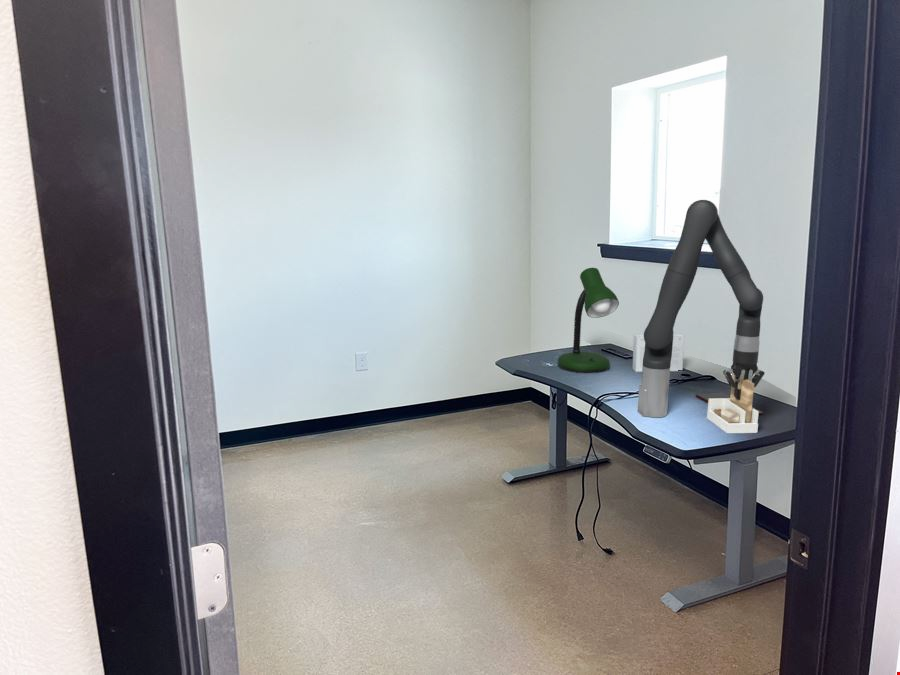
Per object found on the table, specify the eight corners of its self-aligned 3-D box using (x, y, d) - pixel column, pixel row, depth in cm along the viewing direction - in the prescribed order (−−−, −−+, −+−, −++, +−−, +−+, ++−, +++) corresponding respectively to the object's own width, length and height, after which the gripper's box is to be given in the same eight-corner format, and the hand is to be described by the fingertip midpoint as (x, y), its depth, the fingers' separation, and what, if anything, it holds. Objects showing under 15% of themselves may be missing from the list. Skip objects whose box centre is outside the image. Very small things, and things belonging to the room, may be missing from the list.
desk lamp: (628, 375, 279) (634, 270, 270) (580, 379, 273) (585, 272, 264) (593, 358, 308) (598, 263, 299) (549, 362, 302) (553, 264, 293)
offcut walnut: (719, 423, 220) (720, 412, 220) (713, 420, 224) (714, 409, 223) (728, 423, 221) (729, 412, 220) (722, 419, 224) (723, 408, 223)
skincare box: (678, 368, 291) (680, 333, 288) (682, 371, 286) (685, 336, 283) (631, 368, 291) (633, 333, 287) (635, 372, 285) (637, 336, 282)
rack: (727, 433, 211) (729, 412, 210) (706, 417, 226) (708, 398, 225) (757, 432, 212) (759, 412, 210) (735, 417, 227) (736, 398, 225)
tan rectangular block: (744, 430, 214) (748, 383, 210) (728, 419, 224) (732, 374, 221) (749, 430, 214) (754, 383, 210) (733, 419, 225) (737, 374, 221)
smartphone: (735, 415, 227) (693, 393, 250) (735, 419, 227) (693, 397, 251) (766, 412, 229) (722, 391, 253) (765, 417, 230) (721, 395, 254)
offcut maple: (728, 422, 213) (729, 413, 212) (720, 417, 218) (721, 408, 217) (738, 422, 214) (739, 413, 213) (730, 417, 218) (730, 408, 218)
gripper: (731, 351, 210) (726, 403, 213) (772, 350, 210) (767, 402, 214) (720, 346, 217) (715, 396, 221) (760, 345, 218) (755, 395, 221)
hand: (741, 399), depth 217 cm, fingers closed on tan rectangular block, 2 cm apart
